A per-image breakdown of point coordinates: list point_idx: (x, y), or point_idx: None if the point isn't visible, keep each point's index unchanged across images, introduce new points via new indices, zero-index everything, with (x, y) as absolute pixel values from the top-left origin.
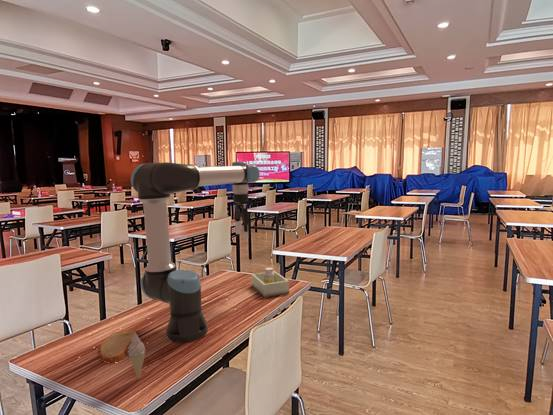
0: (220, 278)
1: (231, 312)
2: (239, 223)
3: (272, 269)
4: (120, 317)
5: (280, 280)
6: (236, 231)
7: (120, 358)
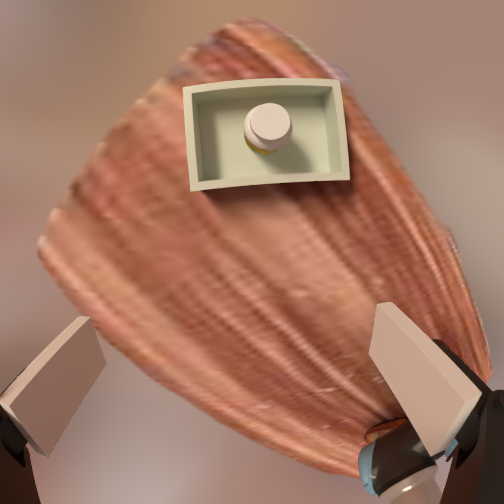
0: (95, 280)
1: (391, 293)
2: (34, 402)
3: (285, 110)
4: (297, 453)
5: (270, 90)
6: (94, 375)
7: None
